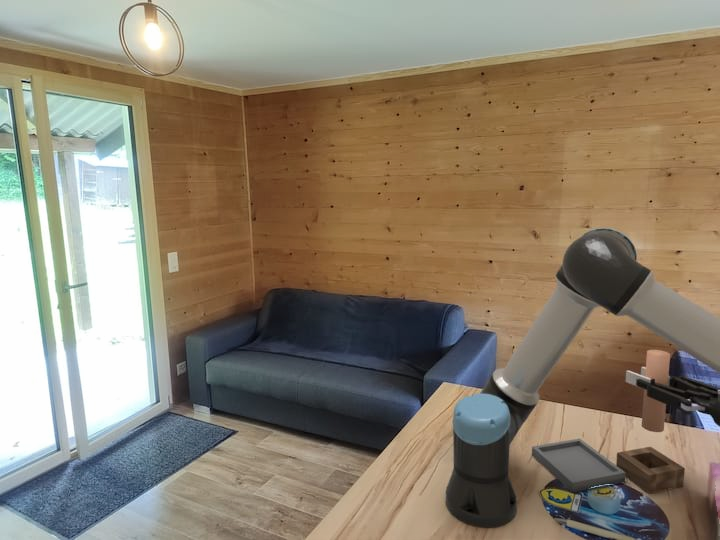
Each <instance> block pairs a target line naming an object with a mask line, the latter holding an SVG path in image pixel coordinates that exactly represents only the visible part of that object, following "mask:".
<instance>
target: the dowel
mask: <svg viewBox="0 0 720 540" xmlns="http://www.w3.org/2000/svg"><path fill="white" fill-rule="evenodd" d="M670 360H671V353H670V352H667V351H665V350H660V349H648V350H647V351H646V361H645V362H646V363H645V367H646V373H645V377H648V378H650V379H655V382H656V383H659V384H662V385H666V386H668V376H670V373H669V371H670V362H671V361H670ZM642 404H643V405H642V413H641V414H642V415H641V427H642V428H643V429H644V430H647V431H649V432H653V433H662V432H664V431H665V420H666V409H667V404H664V403H662V402H660V401H657V400H655V399H653V398H650V397H648V396H647V390H645V389H643V402H642Z"/></svg>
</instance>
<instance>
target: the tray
mask: <svg viewBox="0 0 720 540" xmlns="http://www.w3.org/2000/svg"><path fill="white" fill-rule="evenodd" d="M531 456H532V457H533V458H534V459H535V460H536V461H537V462H538V463H539V464H540V465H541V466H543V467H544V469H546V471H548V472H549V473H550V474H551V475H552V476H553V477H555V479H557V480H558V481H559V482H560V483H561V485H563V486H564V487H565V488H566V489H567V490H568V491H569V492H571V493H574V494H575V493H579V492H583V491H584V492H585V491H587V490H586V489H589V488H591V487H594V486H599V485H604V484H614V485H618V483H619V484H624V483H626V477H625V475H626V472H624V471H623V470H622V469H620V468H619V467H617V466H616V464H614V462H612V461H611V460H610V459H608V458H607V457H606V456H604V455H603V454H601V453H600V452H599V451H597V450H596V449H595V448H593V447H592V446H591V445H590V444H588V443H587V442H586V441H584V440H583V439H581V438H575V439H570V440H564V441H563V440H562V441H556V442H552V443H544V444H540V445H533V446H532V445H531ZM616 483H617V484H616ZM589 490H590V489H589Z"/></svg>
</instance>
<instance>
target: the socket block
mask: <svg viewBox="0 0 720 540" xmlns="http://www.w3.org/2000/svg"><path fill="white" fill-rule="evenodd" d="M615 465H616V466H617V467H619V468H620V469H622V470H623V471H624V472H626V475H625V479H628V480H629V481H630V482H632V483H633V484H634V485H636V486H637V487H638V488H639V489H641V490H643V491H644V492H645V493H646V494H652V493H657V492H661V491H667V490H671V489H677V488H682V487H684V485H685V484H684V483H685V473H686V472H685V469H686V468H685V467H684V466H682V465H680V464H679V463H677V462H676V461H675V460H672V459H671V458H670V457H668V456H666V455H665V454H663V453H662V452H660V451H658V450H657V449H656V448H653V447H652V446H646V447H642V448H641V447H640V448H635V449H630V450H624V451H619V452H616V464H615Z"/></svg>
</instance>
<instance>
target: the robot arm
mask: <svg viewBox="0 0 720 540" xmlns="http://www.w3.org/2000/svg"><path fill="white" fill-rule="evenodd" d="M637 257H638V255H637V251H636V247H635V245H634V244H633V242H632V240H631V239H630V238H629V237H628V236H627V235H626V234H624V233H623V232H621V231H618V230H616V229H613V228H606V227H603V228H602V227H600V228H599V227H598V228H595V229H592V230H589V231H587V232H585V233H584V234H582V235H581V236H580V237H578V238H577V239H576V240H574V241H572V243H571V244H570V245H569V246H567V248H566V250H565V252H564V255H563V259H562V264H561V266H560V267H559V268H558V270H557V272H556V274H555V275H554V279H555V281H556V284H557V285H556V288H555V289H554V290H553V292H552V294H551V295H550V297H549V298H548V299H547V301H546V303H545V304H544V306H543V308H541V311H540V312H539V314H538V316H537V317H536V318H535V320H534V322H533V323H532V325H531V326H530V327H529V329H528V331H527V332H526V334H525V335H524V337H523V339H522V340H521V342H520V344H519V345H518V346H517V348H516V349H515V351H514V353H513V354H512V355H511V357H510V359H509V360H508V361H507V364H506V365H505V366H504V367H503V368H497V369H495V370H494V371H493V373H492V374H491V375H490V377H489V378H488V380H487V382H486V383H485V385H484V387H483V389H482V390H481V392H480V393H473V394H471V395H466V396H464V397H462V398H461V399H459V400H458V401H457V402H456V404H455V406H454V409H453V416H452V428H453V429H452V432H453V433H452V434H453V439H452V440H453V441H452V442H453V446H452V447H453V470H452V472H451V475H450V478H449V480H448V483H447V486H446V488H445V489H446V490H445V504H446V507H447V509H448V511H449V512H450V514H452V515H453V516H454V517H455V518H456V519H458V520H459V521H461V522H463V523H465V524H467V525H471V526H475V527H479V528H496V527H500V526H503V525H506V524H508V523H509V522H512V521H513V519H514V518H515V516H516V514H517V509H518V508H517V506H518V504H517V503H518V502H517V501H518V500H517V496H516V492H515V490H514V487H513V484H512V481H511V477H510V474H509V469H510V468H509V467H510V446H511V445H512V443H513V442H514V439H515V437H516V436H517V434H518V432H519V431H520V429H521V428H522V426H523V425H524V423H525V422H526V421H527V420H528V418H529V416H530V415H531V413H532V412H533V411H534V409H535V407H536V406H537V405H538V403H539V402H540V394H539V392H538V391H539V390H540V388H541V386H542V385H543V384H544V382H545V381H546V379H548V377H549V375H550V374H551V372H552V371H553V369H554V368H555V366H556V365H557V364H558V362H559V361H560V360H561V358H562V356H563V355H564V353H566V351H567V349H568V348H569V347H570V345H571V344H572V342H573V341H574V340H575V338H576V336H577V335H578V334H579V332H580V331H581V329H582V328H583V326H584V325H585V324H586V322H587V321H588V320H589V318H590V317H591V315H592V314H593V312H594V310H596V308H597V309H598V308H600V307H602V308H603V309H605V310H607V311H608V312H609V313H611V314H612V315H614V316H616V317H623V316H627V317H629V318H630V319H631V320H634V321H635V322H637V323H639V324H640V325H641V326H644V328H647V329H648V330H649V331H651V332H653V333H654V334H655V335H657V336H659V337H660V338H662V339H664V340H666V341H667V342H668V343H670V344H672V345H674V346H675V347H676V348H678V349H679V350H681V351H683V352H684V353H686V354H687V355H690V356H691V357H692V358H694V359H696V360H697V361H699V362H701V363H702V364H704V365H705V366H707V367H708V368H710V369H711V370H712V371H714V372H715V373H718V374H719V375H720V317H718V316H717V315H715V314H714V313H712V312H710V311H709V310H708V309H705V308H704V307H702V306H700V305H698V304H697V303H695V302H693V301H691V300H690V299H689V298H687V297H685V296H683V295H682V294H680V293H678V292H676V291H674V290H673V289H671V288H669V287H668V286H666V285H665V284H663V283H661V282H660V281H658V280H656V279H655V275H654V271H653V270H651V269H649V268H648V267H646V266H644V265H643V264H642V263H640V262H639V261H637ZM645 373H646V366H641V369H640V374H639V373H636V372H634V371H631V370H625V383H628V384H630V385H633V386H635V387H637V388H640V389H643V390H644V389H645V390H647V396H648V397H650V398H653V399H655V400H657V401H660V402H662V403H664V404H666V406H669V407H671V408H675V409H677V410H679V411H680V412H682V414H685V415H689V416H690V415H692V412H693V411H697V412H698V413H701V414H705V415H708V416H710V417H711V418H712V420H713V422H714V424H715V425H717V426H718V427H720V387H718V386H714V385H711V384H708V383H705V382H702V381H700V380H696V379H694V378H691V377H688V376H685V375H679V377H678V376H675V375H672V376H671V375H668V386H666V385H662V384H659V383H656V382H655V379H650V378H648V377H645Z"/></svg>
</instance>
